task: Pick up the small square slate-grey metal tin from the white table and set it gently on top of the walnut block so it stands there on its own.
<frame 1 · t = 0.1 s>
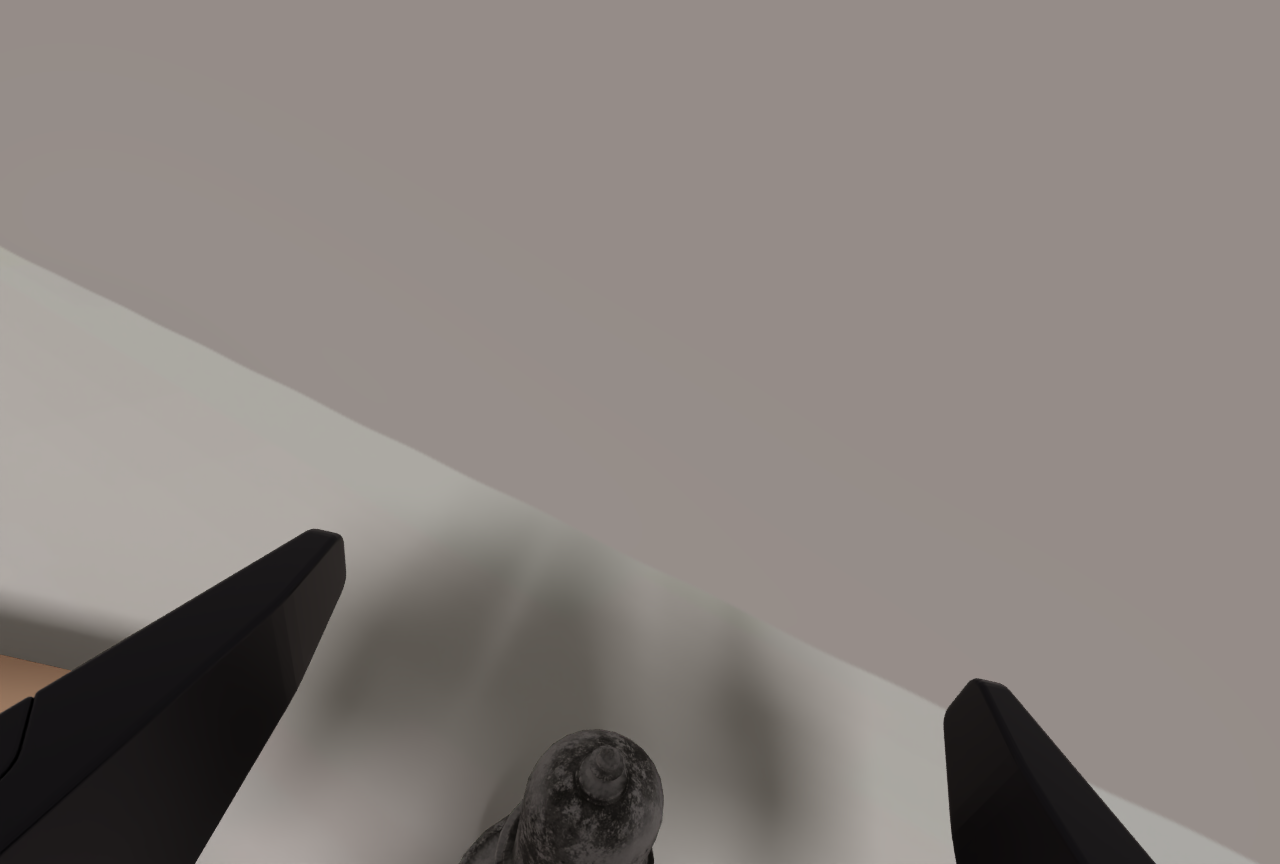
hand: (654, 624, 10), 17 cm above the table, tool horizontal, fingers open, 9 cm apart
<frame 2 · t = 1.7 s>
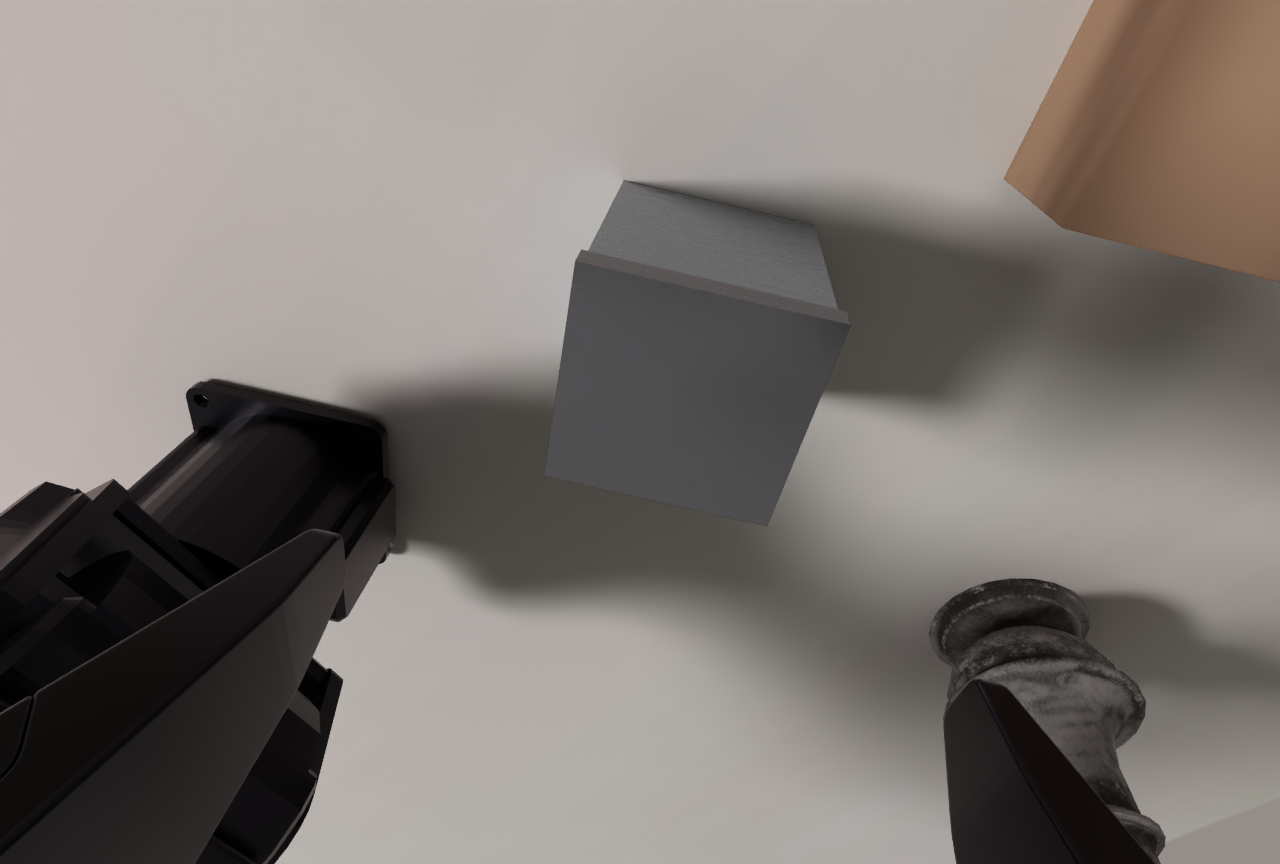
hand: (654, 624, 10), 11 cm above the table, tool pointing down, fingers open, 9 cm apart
dark grey tall piece: (1004, 625, 25), on the table
slate tin: (696, 291, 19), on the table
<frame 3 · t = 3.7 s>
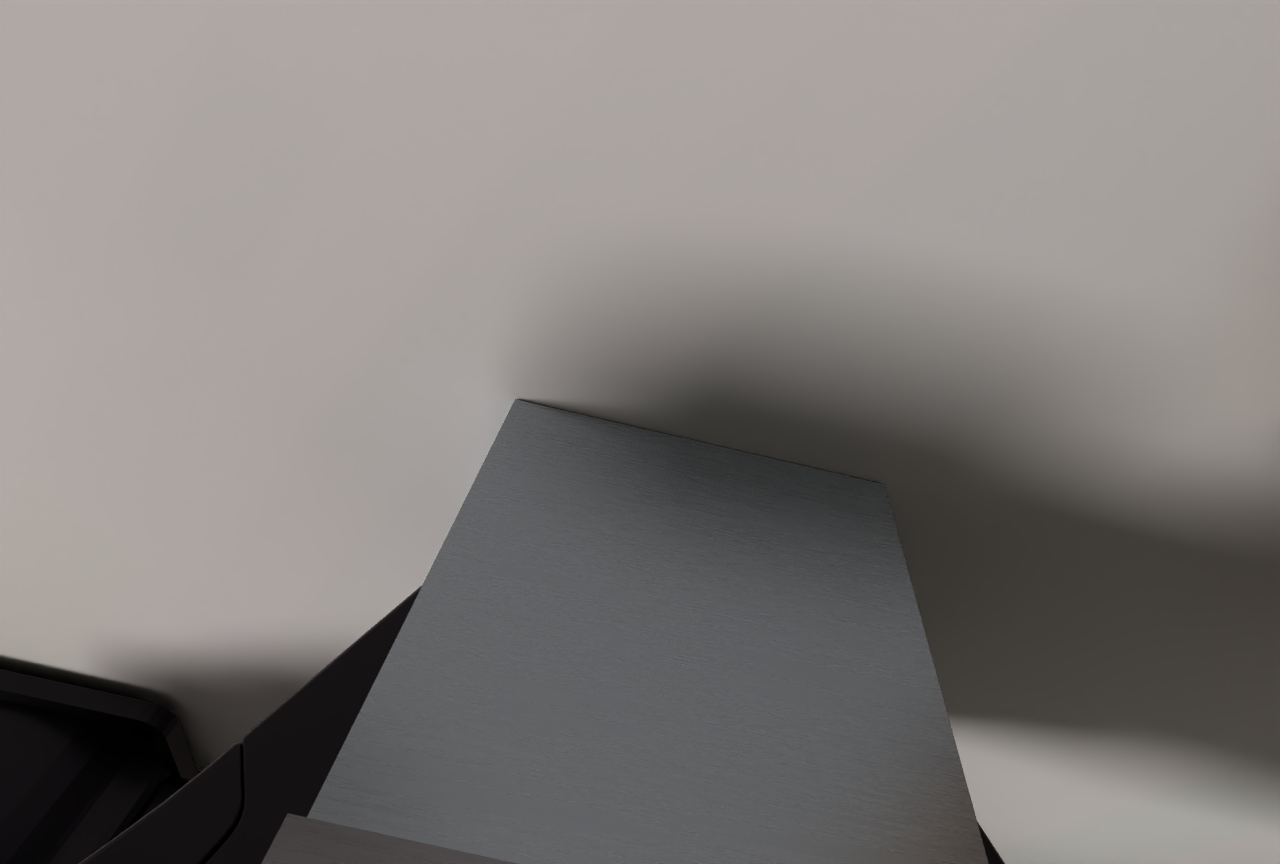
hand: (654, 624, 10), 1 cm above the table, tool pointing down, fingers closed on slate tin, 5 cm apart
slate tin: (660, 570, 11), on the table, touching gripper
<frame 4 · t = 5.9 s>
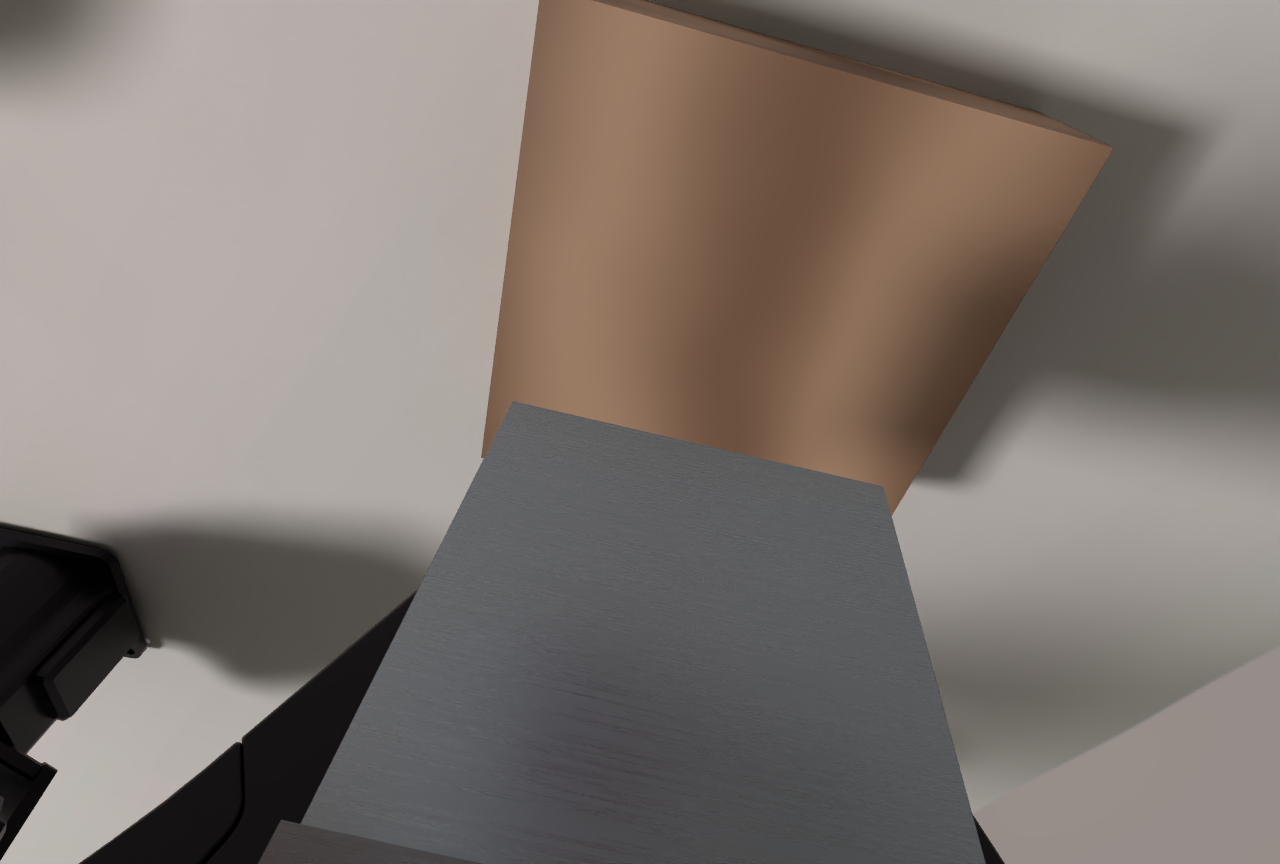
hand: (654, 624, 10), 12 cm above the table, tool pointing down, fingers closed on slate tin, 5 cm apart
slate tin: (659, 572, 11), point 11 cm above the table, touching gripper
walnut block: (737, 266, 19), on the table
when the fingers open (5 cm above the table, at t = 8.5 s): slate tin stays where it is, resting on walnut block.
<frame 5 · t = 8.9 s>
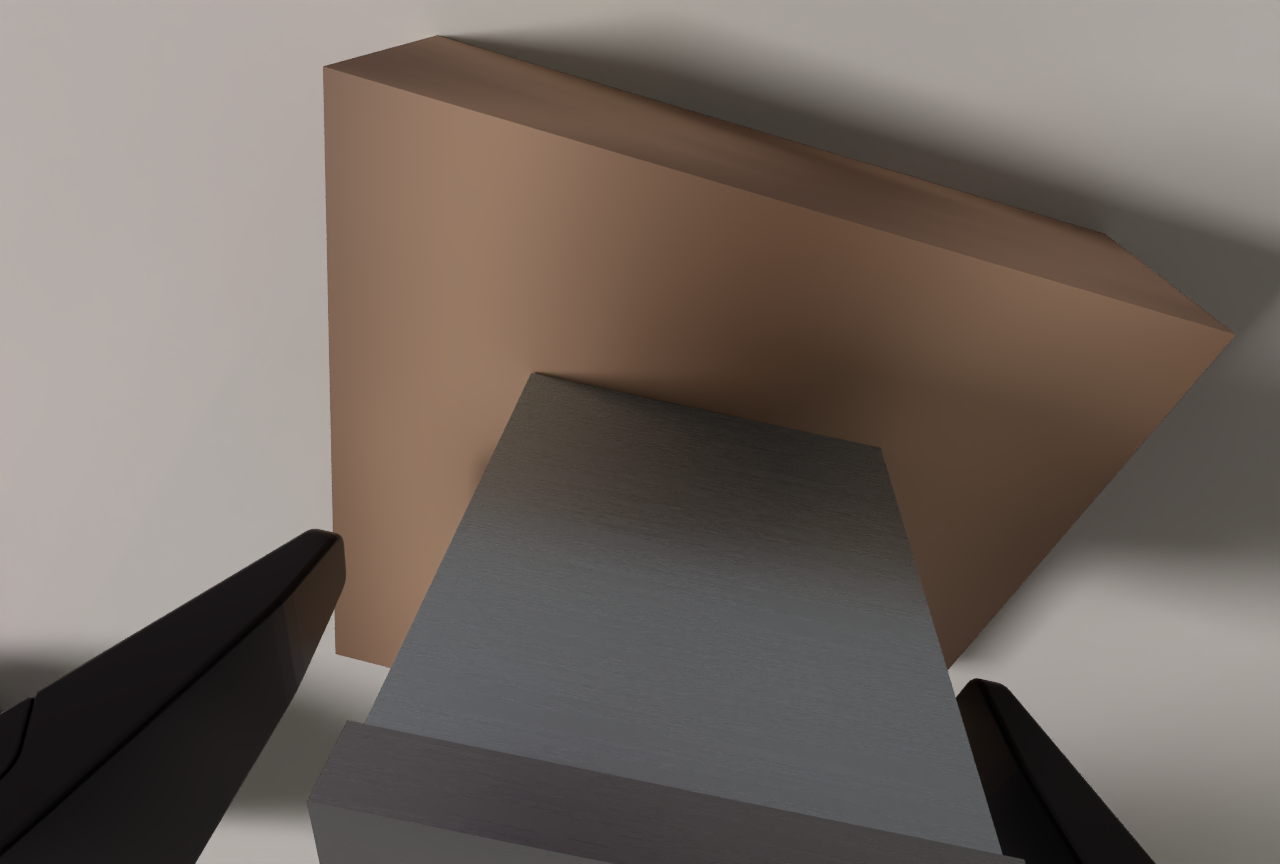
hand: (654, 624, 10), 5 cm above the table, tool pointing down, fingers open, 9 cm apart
slate tin: (670, 536, 11), point 4 cm above the table, touching walnut block
walnut block: (683, 403, 14), on the table, touching slate tin
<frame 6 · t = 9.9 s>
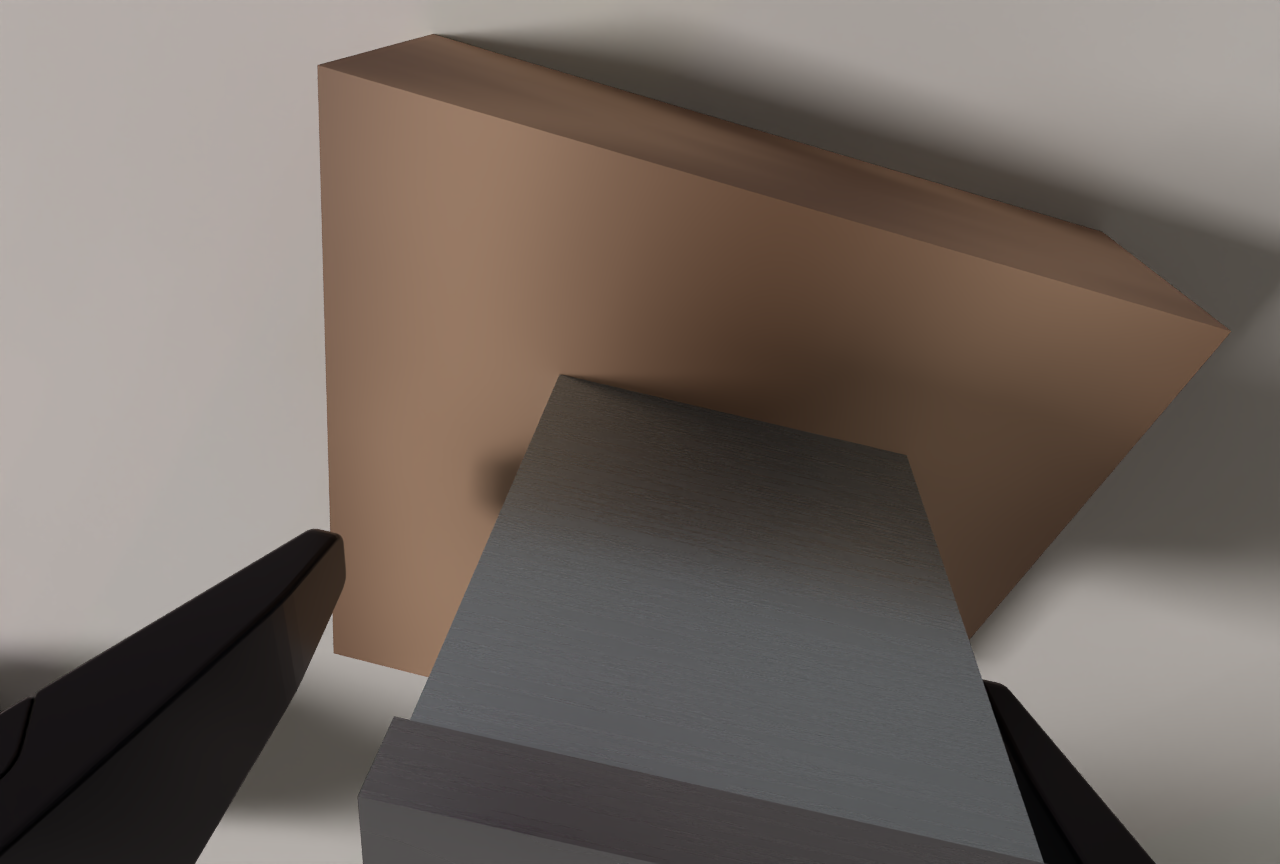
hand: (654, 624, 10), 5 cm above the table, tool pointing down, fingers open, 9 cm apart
slate tin: (691, 540, 11), point 4 cm above the table, touching walnut block
walnut block: (681, 402, 14), on the table, touching slate tin
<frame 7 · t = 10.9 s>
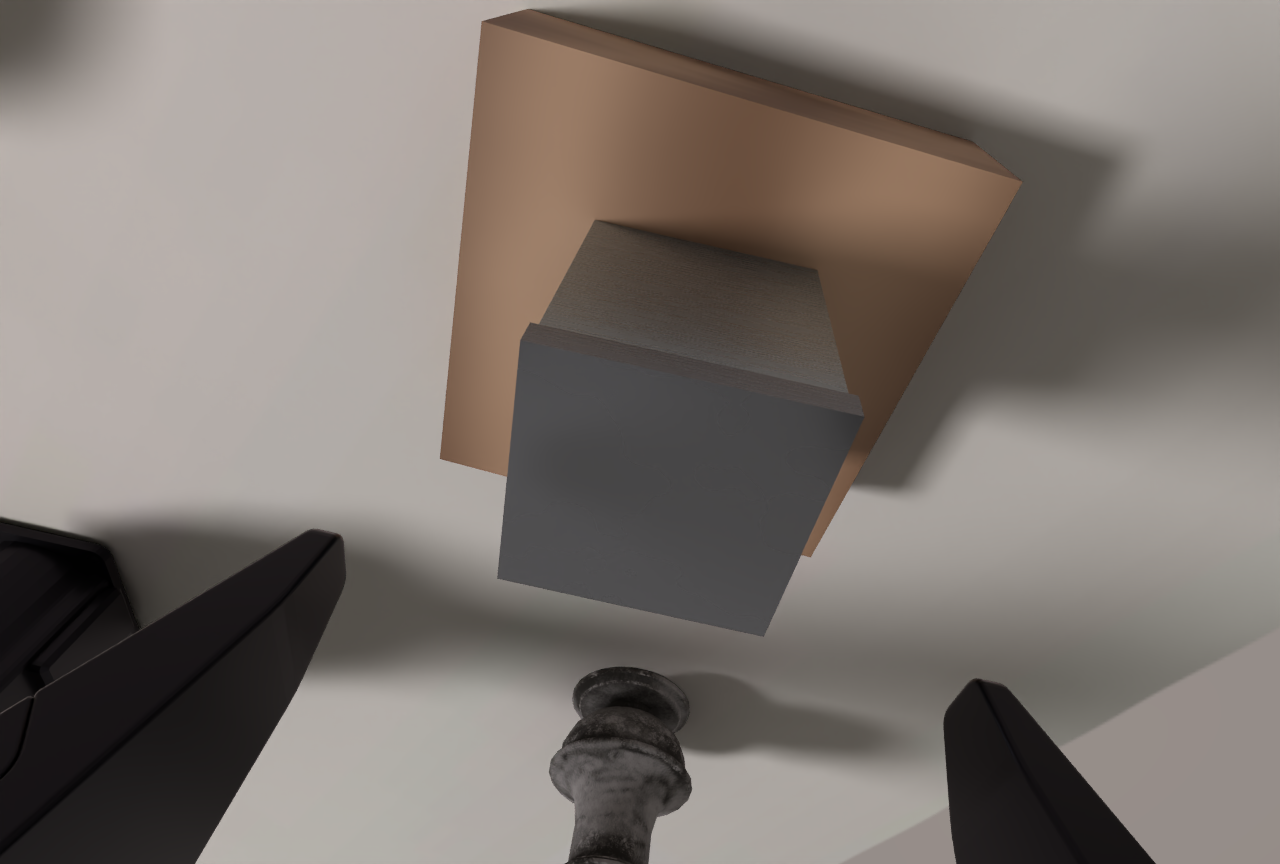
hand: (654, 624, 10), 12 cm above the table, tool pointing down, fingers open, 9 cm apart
dark grey tall piece: (631, 700, 31), on the table
slate tin: (681, 344, 17), point 4 cm above the table
walnut block: (689, 280, 20), on the table
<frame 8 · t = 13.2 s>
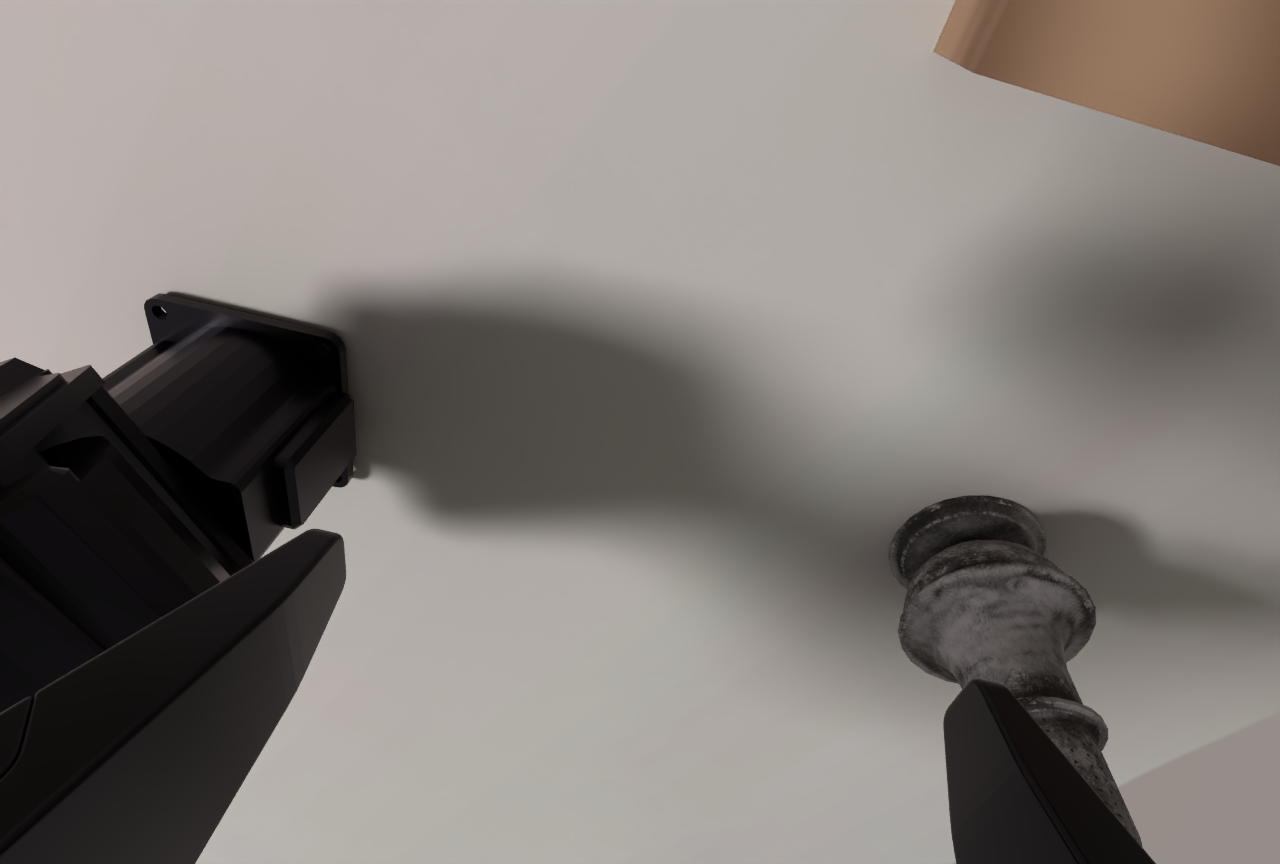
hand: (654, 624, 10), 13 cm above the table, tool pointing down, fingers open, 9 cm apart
dark grey tall piece: (963, 547, 25), on the table
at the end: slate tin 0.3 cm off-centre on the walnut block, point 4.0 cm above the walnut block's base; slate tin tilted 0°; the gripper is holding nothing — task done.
